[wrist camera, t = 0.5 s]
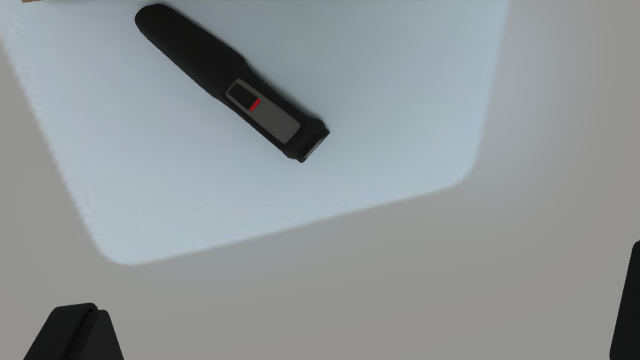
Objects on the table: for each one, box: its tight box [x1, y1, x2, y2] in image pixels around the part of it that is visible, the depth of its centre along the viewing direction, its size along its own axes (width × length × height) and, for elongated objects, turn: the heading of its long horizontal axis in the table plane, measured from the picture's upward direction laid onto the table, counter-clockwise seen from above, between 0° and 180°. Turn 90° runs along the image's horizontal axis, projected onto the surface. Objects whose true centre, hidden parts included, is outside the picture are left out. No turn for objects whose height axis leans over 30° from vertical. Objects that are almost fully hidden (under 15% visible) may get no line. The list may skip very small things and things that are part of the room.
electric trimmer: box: [135, 4, 330, 163], centre depth 35 cm, size 4×16×3 cm, turn 48°
